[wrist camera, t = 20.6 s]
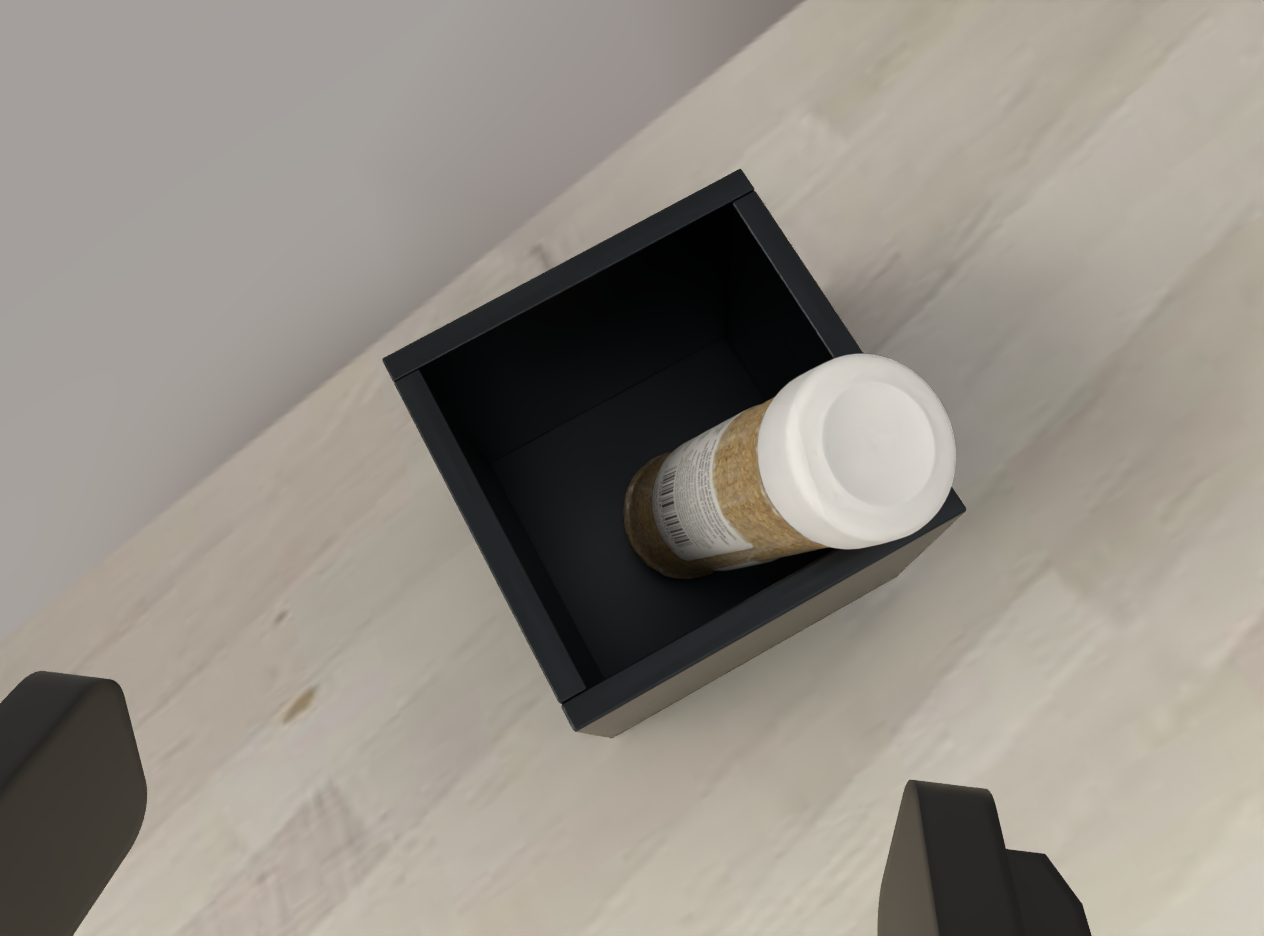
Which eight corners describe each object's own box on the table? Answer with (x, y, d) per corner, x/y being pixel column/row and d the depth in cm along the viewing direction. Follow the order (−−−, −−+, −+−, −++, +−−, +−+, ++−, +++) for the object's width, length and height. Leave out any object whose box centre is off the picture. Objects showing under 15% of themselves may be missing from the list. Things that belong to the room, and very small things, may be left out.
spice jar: (733, 587, 37) (961, 554, 25) (610, 571, 36) (784, 527, 23) (743, 461, 38) (967, 367, 26) (624, 441, 37) (797, 332, 24)
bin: (464, 459, 40) (381, 358, 29) (732, 314, 40) (740, 167, 30) (610, 739, 37) (574, 733, 26) (897, 576, 37) (968, 509, 27)
